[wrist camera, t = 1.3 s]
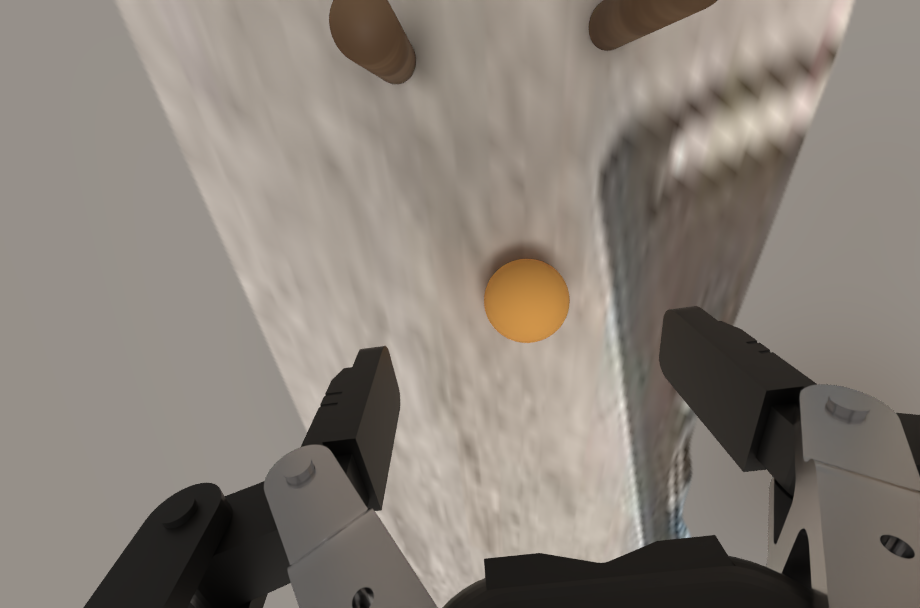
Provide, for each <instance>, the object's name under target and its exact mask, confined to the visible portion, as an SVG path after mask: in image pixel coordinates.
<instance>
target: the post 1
mask: <svg viewBox="0 0 920 608" xmlns="http://www.w3.org/2000/svg"><path fill="white" fill-rule="evenodd" d="M329 24H330V30H331V34H332V37H333V39H334V42H335V43H336V45H337V47H338V48H339V50H340V51H341V52H342V53H343V54H344V55H345V56H346V57H347V58H349V59H350V60H352V61H353V62H355V63H357V64H358V65H360V66H362V67H363V68H365V69H367V70H368V71H370V72H371V73H373V74H375V75H376V76H378V77H380V78H381V79H383V80H385V81H386V82H388V83H391V84H401V83H404V82H405V81H407V80H408V79H409V78H410V77H411V76H412V74H413V72H414V69H415V65H416V57H415V52H414V49H413V47H412V45H411V43H410V41H409V40H408V38H407V36H406V34H405V32H404V30H403V28H402V26H401V25H400V23H399V21H398V19H397V17H396V15H395V13H394V11H393V10H392V8H391V6H390V4H389V2H388V1H387V0H333V3H332V5H331V9H330V15H329Z"/></svg>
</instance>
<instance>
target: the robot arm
mask: <svg viewBox="0 0 920 608" xmlns="http://www.w3.org/2000/svg"><path fill="white" fill-rule="evenodd" d="M659 362H660V367H661V370H662V372H663V374H664V376H665V377H666V379H667V380H668V381H669V382H670V384H671V385H672V386H673V387H674V388H675V390H676V391H677V392H678V393H679V395H680V396H681V397H682V398H683V399H684V401H685V402H686V403H687V404H688V405H689V407H690V408H691V409H692V410H693V411H694V413H695V414H696V415H697V416H698V418H699V419H700V420H701V421H702V422H703V423H704V425H705V426H706V427H707V428H708V430H710V432H711V433H712V434H713V436H714V437H715V438H716V439H717V441H718V442H719V443H720V444H721V445H722V447H723V448H724V449H725V450H726V451H727V453H728V454H729V455H730V456H731V457H732V458H733V460H734V461H735V462H736V464H737V465H738V466H739V467H740V468H741V469H742V471H743V472H748V471H757V470H766V469H767V470H768V471H769V473H770V474H771V475H772V479H771V482H770V486H769V515H768V516H769V517H768V557H767V564H766V567H765V566H762V565H759V564H757V563H754V562H751V561H748V560H744V559H740V558H736V557H731V556H728V555H727V553H726V552H725V550H724V549H723V547H722V545H721V544H720V542H719V541H718V539H717V538H716V536H715V535H712V536H703V537H692V538H682V539H672V540H663V541H656V542H654V543H651V544H649V545H647V546H644V547H642V548H640V549H637V550H635V551H633V552H630V553H628V554H626V555H623V556H621V557H618V558H616V559H614V560H611V561H609V562H606V563H596V562H590V561H584V560H578V559H572V558H566V557H560V556H554V555H548V554H542V553H536V554H526V555H517V556H507V557H497V558H488V559H484V565H485V578H484V579H482V580H480V581H477V582H475V583H473V584H472V585H470V586H468V587H467V588H465V589H463V590H462V591H461V592H459V593H458V594H457V595H455V596H454V597H453V598H452V599H450V600H449V601H448V603H447V604H446V605H445V606H444V607H443V608H920V415H913V414H902V413H895V412H894V410H892V409H891V408H890V407H889V406H888V405H886V404H885V403H883V402H882V401H880V400H878V399H876V398H874V397H872V396H870V395H868V394H865V393H863V392H860V391H857V390H854V389H850V388H847V387H843V386H837V385H828V384H818V385H817V384H816V383H815V382H813V381H812V380H811V379H809V378H808V377H806V376H805V375H804V374H802V373H801V372H799V371H798V370H797V369H795V368H794V367H793V366H791V365H790V364H788V363H787V362H786V361H784V360H783V359H781V358H780V357H779V356H777V355H776V354H775V353H773V352H772V353H770V350H769V349H768V348H766V347H765V346H764V345H762V344H761V343H757V341H756V340H755V339H754V338H752V337H751V336H750V335H748V334H747V333H746V332H744V331H743V330H741V329H739V328H737V327H734V326H732V325H729V324H727V323H725V322H722V321H717V320H716V319H715V318H713V317H712V316H711V315H709V314H708V313H707V312H705V311H704V310H703V309H701V308H700V307H698V306H694V307H686V308H678V309H671V310H667V311H666V312H665V314H664V318H663V327H662V336H661V344H660V353H659ZM320 405H321V407H319V409H318V411H317V413H316V415H315V417H314V419H313V422H312V424H311V426H310V428H309V430H308V432H307V435H306V437H305V439H304V441H303V443H302V446H301V447H300V448H298V449H295V450H294V451H291V452H290V453H288V454H286V455H285V456H283V457H282V458H281V459H280V460H279V461H277V462H276V464H274V466H273V467H272V468H271V469H270V471H269V472H268V474H267V476H266V478H265V481H264V482H261V483H259V484H256V485H254V486H251V487H248V488H246V489H243V490H240V491H238V492H236V493H233V494H230V495H227V496H224V495H223V493H222V491H221V490H220V488H219V487H218V486H217V485H215V484H212V483H200V484H195V485H192V486H190V487H187V488H185V489H183V490H181V491H179V492H177V493H175V494H174V495H173V496H171V497H169V498H168V499H167V500H165V501H164V502H163V503H161V504H160V505H159V506H158V507H157V508H156V509H155V510H154V511H153V512H152V513H151V514H150V515H149V517H148V518H147V519H146V520H145V522H144V523H143V525H142V526H141V527H140V529H139V530H138V532H137V533H136V534H135V536H134V537H133V539H132V540H131V542H130V543H129V544H128V546H127V547H126V548H125V550H124V551H123V553H122V554H121V555H120V557H119V558H118V560H117V561H116V563H115V564H114V566H113V567H112V568H111V570H110V571H109V572H108V574H107V575H106V577H105V578H104V579H103V581H102V582H101V584H100V585H99V586H98V588H97V590H96V591H95V592H94V593H93V595H92V596H91V598H90V599H89V601H88V602H87V603H86V605H85V606H84V608H263V606H264V603H265V600H266V597H267V594H268V593H269V592H272V591H274V590H276V589H278V588H280V587H283V586H284V585H287V584H289V583H291V585H292V587H293V591H294V593H295V596H296V599H297V602H298V605H299V608H438V607H437V606H436V604H435V602H434V601H433V599H432V598H431V596H430V595H429V593H428V592H427V590H426V589H425V587H424V586H423V584H422V583H421V581H420V579H419V578H418V576H417V575H416V573H415V572H414V570H413V569H412V567H411V566H410V564H409V563H408V561H407V560H406V558H405V556H404V555H403V553H402V552H401V550H400V549H399V547H398V546H397V544H396V543H395V541H394V540H393V538H392V537H391V535H390V533H389V532H388V530H387V529H386V527H385V526H384V524H383V523H382V521H381V520H380V518H379V517H378V515H377V514H376V512H375V511H379V510H382V505H383V499H384V494H385V488H386V483H387V477H388V472H389V466H390V461H391V455H392V450H393V444H394V439H395V433H396V428H397V422H398V417H399V411H400V392H399V387H398V383H397V380H396V376H395V372H394V368H393V365H392V361H391V357H390V354H389V351H388V348H387V347H386V346H381V347H374V348H366V349H360V350H359V352H358V355H357V357H356V359H355V362H354V364H353V367H351V368H344V369H343V370H342V371H341V372H340V373H339V374H338V375H337V376H336V377H335V378H334V379H333V380H332V381H331V383H330V385H329V387H328V389H327V391H326V396H324V398H323V400H322V402H321V404H320Z"/></svg>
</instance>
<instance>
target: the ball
mask: <svg viewBox="0 0 920 608" xmlns="http://www.w3.org/2000/svg"><path fill="white" fill-rule="evenodd" d="M569 301H570V299H569V292H568V288H567V285H566V283H565V281H564V279H563V278H562V276H561V275H560V274H559V273H558V271H556V270H555V269H554V268H553V267H552V266H550V265H549V264H547V263H544V262H542V261H539V260H535V259H519V260H515V261H511V262H509V263H507V264H505V265H504V266H502V267H501V268H500V269H498V270H497V271H496V272H495V273H494V275H493V276H492V277H491V279H490V280H489V282H488V285H487V287H486V291H485V295H484V306H485V311H486V314H487V317H488V319H489V321H490V323H491V324H492V326H493V327H494V328H495V329H496V330H497V331H498V332H499V333H500V334H502V335H503V336H504V337H506V338H508V339H511V340H513V341H517V342H522V343H531V342H537V341H540V340H543V339H545V338H547V337H549V336H551V335H552V334H553V333H555V332H556V331H557V330H558V329H559V328H560V327H561V325H562V324H563V322H564V320H565V318H566V316H567V313H568V309H569Z"/></svg>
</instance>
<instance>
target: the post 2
mask: <svg viewBox="0 0 920 608" xmlns="http://www.w3.org/2000/svg"><path fill="white" fill-rule="evenodd" d="M716 1H717V0H603V1H602V2H601V3H600V4H599V5H598V6H597V7H596V8H595V10H594V11H593V13H592V15H591V18H590V22H589V34H590V38H591V40H592V42H593V44H594V45H595V46H596V47H598V48H599V49H601V50H606V51H608V50H613V49H616V48H618V47H620V46H623V45H625V44H627V43H629V42H632V41H634V40H636V39H638V38H641V37H643V36H645V35H647V34H650V33H652V32H654V31H656V30H659V29H661V28H663V27H665V26H668V25H670V24H672V23H674V22H677V21H679V20H681V19H683V18H686V17H688V16H690V15H692V14H695V13H697V12H699V11H701V10H704V9H706V8H708V7H709V6H711V5H712V4H714V3H715V2H716Z"/></svg>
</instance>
